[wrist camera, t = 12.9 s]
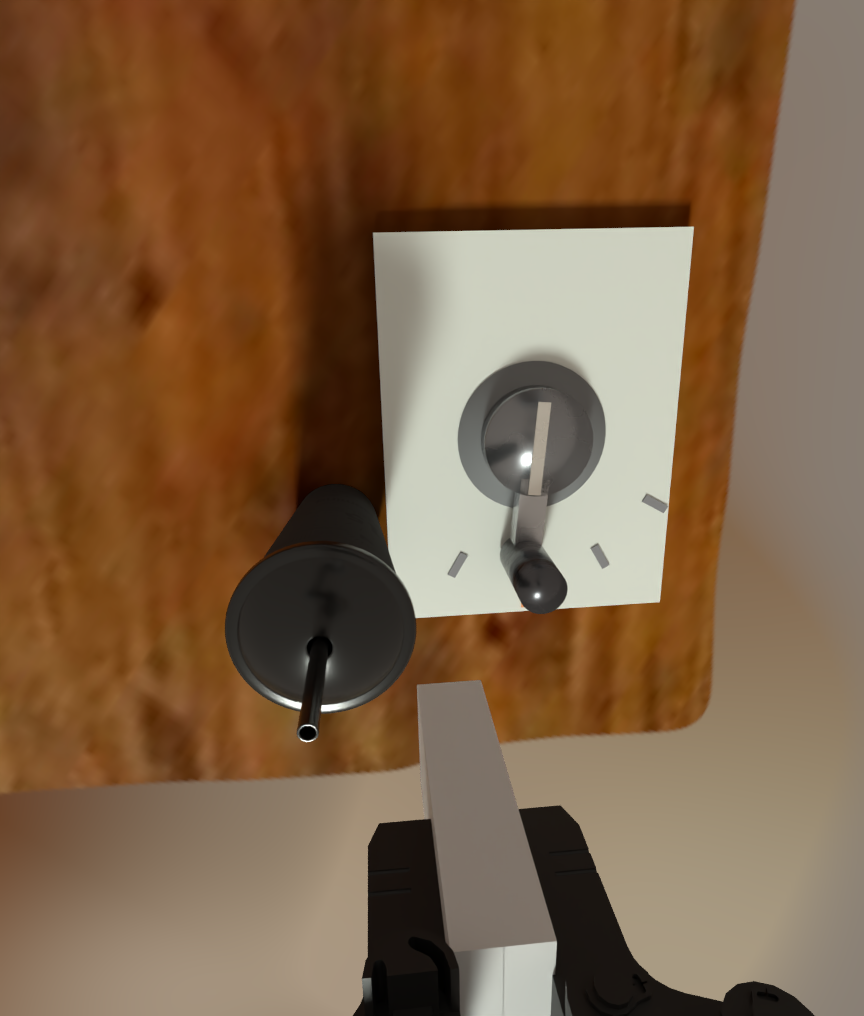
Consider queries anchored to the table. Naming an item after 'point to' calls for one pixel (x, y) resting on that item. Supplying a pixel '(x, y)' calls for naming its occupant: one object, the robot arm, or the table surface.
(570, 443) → the crank
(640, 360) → the board
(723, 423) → the table surface
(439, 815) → the robot arm
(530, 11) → the table surface
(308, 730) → the drinking cup
